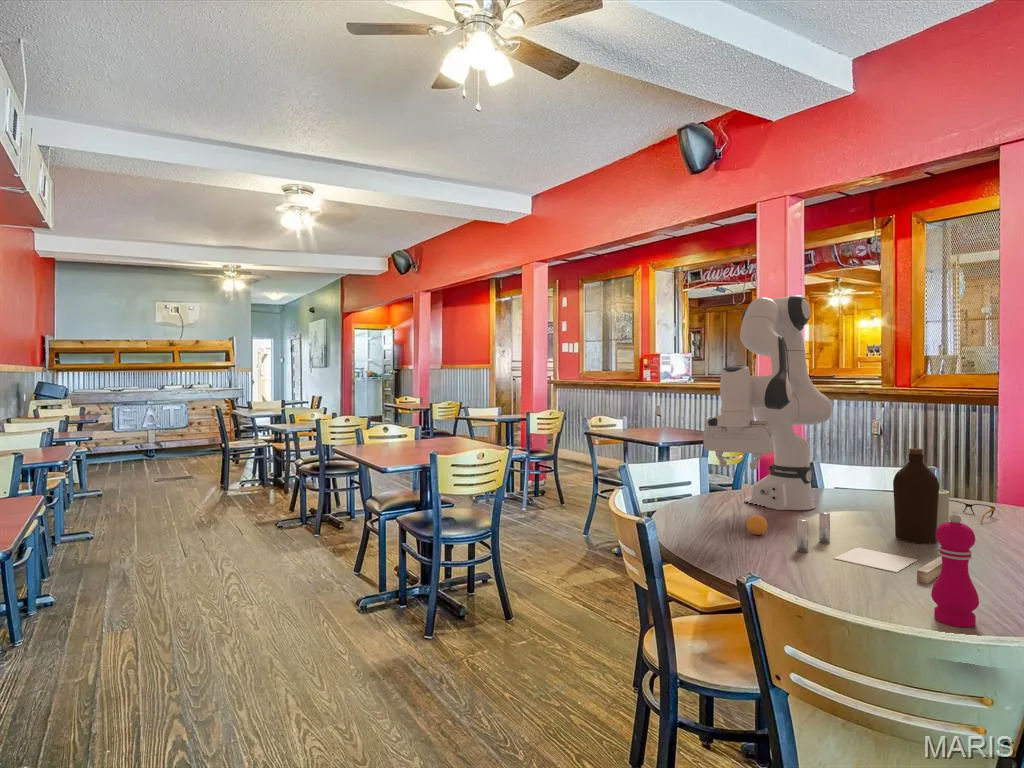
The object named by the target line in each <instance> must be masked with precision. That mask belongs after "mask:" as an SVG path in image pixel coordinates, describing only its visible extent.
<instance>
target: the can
mask: <svg viewBox="0 0 1024 768" xmlns="http://www.w3.org/2000/svg"><path fill="white" fill-rule="evenodd" d="M949 500H950V491H949V490H945V489H943V488H939V498H938V513H937V528H938V526H939V525H941V524H943V523H945V522H950V519H949V518H950V513H949V512H950V501H949Z"/></svg>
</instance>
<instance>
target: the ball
mask: <svg viewBox="0 0 1024 768" xmlns="http://www.w3.org/2000/svg"><path fill="white" fill-rule="evenodd" d="M746 527H747V529H748V532H750V533H751V534H753V535H755V536H756V535H757V536H759V535H760V536H761V535H763V534H764V533H766V532H767V530H768V522H767V520H766V519H765V517H763V516H761V515H758V514H754V515H751V516H750V517H749V518H748V519H747V521H746Z"/></svg>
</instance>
